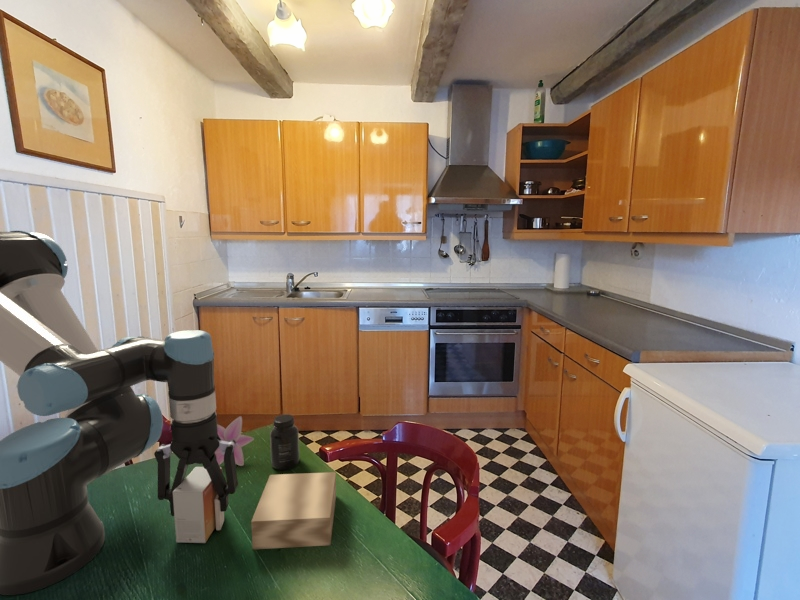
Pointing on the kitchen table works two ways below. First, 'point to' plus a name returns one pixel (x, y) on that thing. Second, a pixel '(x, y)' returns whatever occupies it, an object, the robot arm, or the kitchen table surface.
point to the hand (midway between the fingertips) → (201, 526)
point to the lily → (233, 434)
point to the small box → (195, 507)
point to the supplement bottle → (284, 443)
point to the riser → (295, 511)
